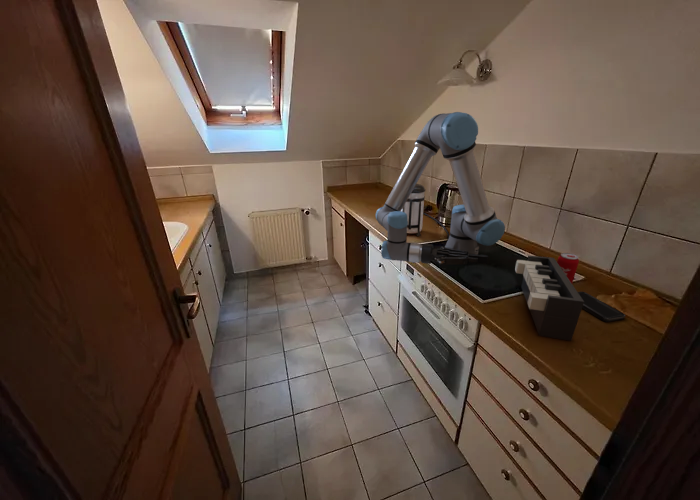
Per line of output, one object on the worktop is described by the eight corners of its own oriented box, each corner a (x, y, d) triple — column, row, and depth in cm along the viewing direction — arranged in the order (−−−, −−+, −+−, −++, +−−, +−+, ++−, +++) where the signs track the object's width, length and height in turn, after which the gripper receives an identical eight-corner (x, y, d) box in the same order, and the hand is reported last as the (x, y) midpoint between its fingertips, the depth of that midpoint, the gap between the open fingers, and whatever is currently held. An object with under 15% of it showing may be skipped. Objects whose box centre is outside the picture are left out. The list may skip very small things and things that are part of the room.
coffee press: (391, 231, 172) (392, 179, 161) (414, 227, 178) (417, 176, 167) (408, 240, 158) (411, 184, 146) (432, 235, 164) (437, 180, 152)
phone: (606, 319, 90) (564, 293, 104) (605, 322, 91) (563, 296, 104) (627, 315, 91) (583, 291, 105) (626, 318, 92) (582, 293, 105)
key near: (527, 303, 88) (530, 292, 86) (556, 307, 86) (560, 295, 84) (529, 309, 86) (532, 297, 84) (559, 313, 83) (563, 301, 82)
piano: (516, 286, 112) (523, 254, 107) (545, 290, 109) (554, 257, 104) (533, 334, 87) (543, 296, 81) (571, 341, 84) (584, 301, 79)
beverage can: (550, 279, 116) (558, 251, 111) (570, 282, 113) (578, 253, 108) (552, 286, 111) (560, 257, 106) (572, 290, 108) (581, 260, 103)
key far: (514, 269, 108) (516, 259, 107) (538, 272, 106) (540, 262, 104) (516, 273, 106) (518, 263, 104) (540, 275, 103) (542, 265, 102)
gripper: (422, 255, 123) (484, 261, 116) (418, 269, 112) (487, 276, 104) (423, 238, 120) (487, 243, 113) (420, 251, 109) (490, 257, 101)
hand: (487, 259), depth 109 cm, fingers closed
